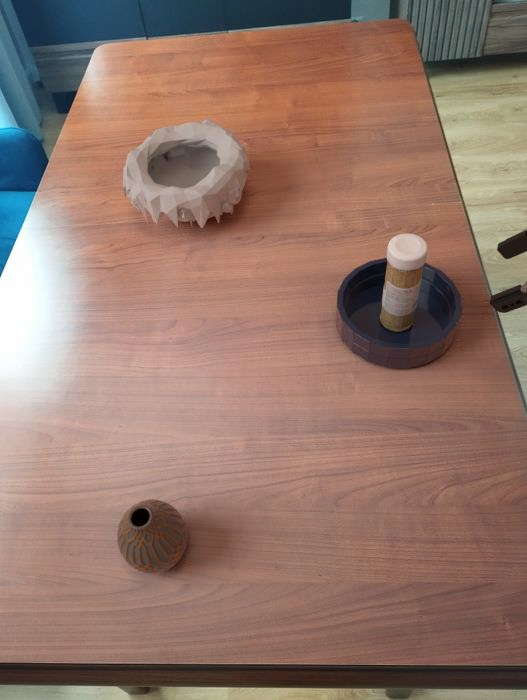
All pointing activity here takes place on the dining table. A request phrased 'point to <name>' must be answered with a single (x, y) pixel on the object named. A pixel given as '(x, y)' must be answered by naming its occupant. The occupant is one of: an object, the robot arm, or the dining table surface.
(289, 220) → the dining table surface
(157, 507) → the vase
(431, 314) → the pan
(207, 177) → the bowl
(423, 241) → the sprinkles bottle
